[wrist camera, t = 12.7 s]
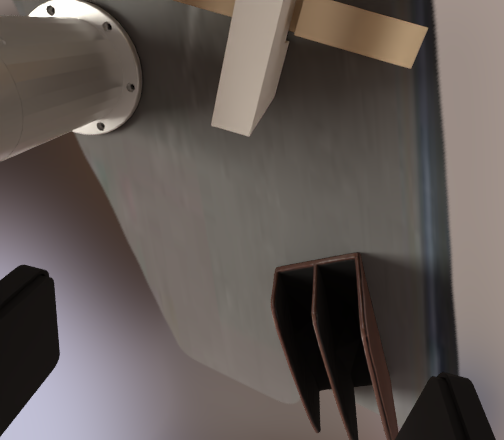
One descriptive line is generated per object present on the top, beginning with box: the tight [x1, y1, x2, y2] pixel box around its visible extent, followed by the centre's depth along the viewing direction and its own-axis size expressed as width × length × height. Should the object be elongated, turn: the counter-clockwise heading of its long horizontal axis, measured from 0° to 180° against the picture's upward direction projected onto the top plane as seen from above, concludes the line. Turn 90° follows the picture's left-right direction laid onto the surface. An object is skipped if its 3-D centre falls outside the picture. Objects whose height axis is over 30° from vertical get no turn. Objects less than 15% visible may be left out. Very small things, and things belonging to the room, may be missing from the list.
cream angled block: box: [211, 0, 296, 136], centre depth 28 cm, size 14×2×15 cm, turn 166°
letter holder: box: [271, 253, 398, 440], centre depth 43 cm, size 10×20×14 cm, turn 18°
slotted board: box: [174, 0, 428, 69], centre depth 30 cm, size 20×2×10 cm, turn 76°
